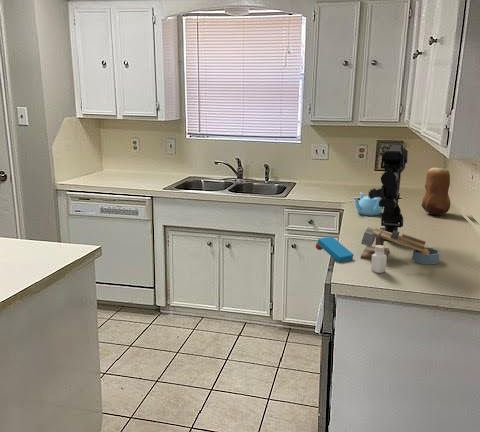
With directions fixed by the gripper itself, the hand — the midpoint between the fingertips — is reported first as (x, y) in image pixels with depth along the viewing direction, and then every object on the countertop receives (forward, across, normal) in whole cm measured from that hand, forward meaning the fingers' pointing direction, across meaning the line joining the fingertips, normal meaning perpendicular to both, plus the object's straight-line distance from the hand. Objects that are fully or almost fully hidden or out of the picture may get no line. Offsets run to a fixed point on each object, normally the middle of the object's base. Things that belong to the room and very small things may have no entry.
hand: (388, 219), depth 197 cm
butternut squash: (+14, -70, +16) cm, 73 cm away
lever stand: (+13, +9, -3) cm, 16 cm away
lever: (+13, +15, -20) cm, 28 cm away
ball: (+10, +9, +15) cm, 20 cm away
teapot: (+14, -60, -17) cm, 64 cm away
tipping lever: (+10, +9, +2) cm, 14 cm away
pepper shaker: (+12, +28, 0) cm, 31 cm away
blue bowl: (+13, +9, +16) cm, 22 cm away
